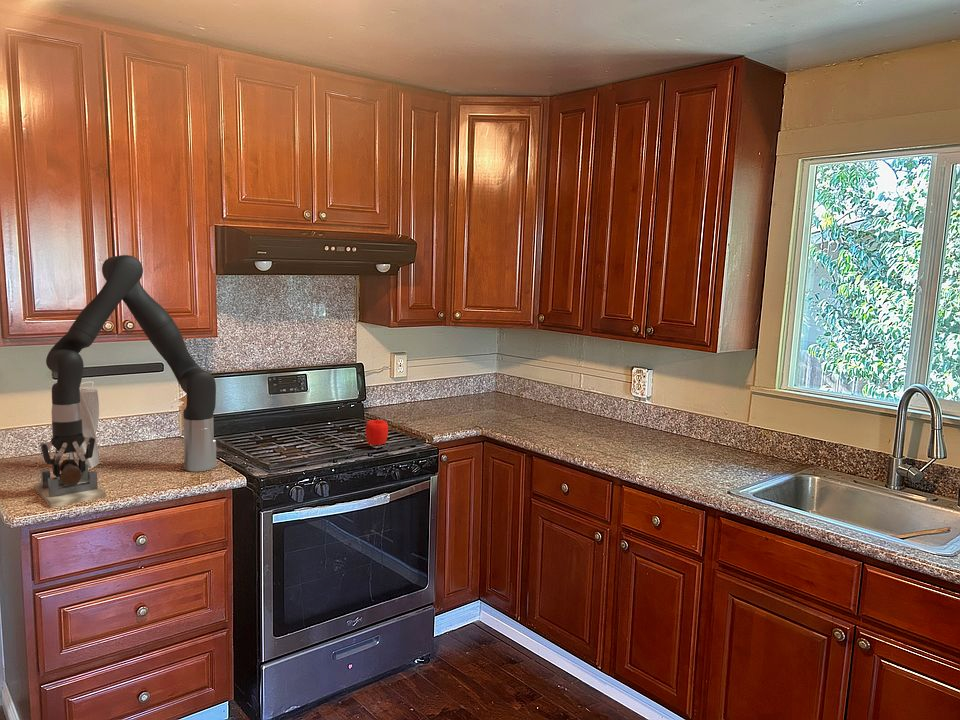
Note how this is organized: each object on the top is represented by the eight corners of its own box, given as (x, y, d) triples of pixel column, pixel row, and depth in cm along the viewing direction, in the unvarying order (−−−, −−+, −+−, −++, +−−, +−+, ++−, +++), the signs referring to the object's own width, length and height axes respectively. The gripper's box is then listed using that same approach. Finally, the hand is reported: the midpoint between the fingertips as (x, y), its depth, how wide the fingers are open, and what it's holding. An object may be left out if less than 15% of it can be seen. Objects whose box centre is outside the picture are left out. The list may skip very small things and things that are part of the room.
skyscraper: (81, 463, 235) (78, 380, 231) (106, 463, 235) (103, 381, 231) (67, 470, 226) (64, 385, 222) (93, 471, 227) (90, 386, 223)
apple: (369, 443, 273) (370, 416, 272) (391, 446, 272) (391, 418, 270) (361, 449, 265) (362, 421, 263) (383, 451, 263) (384, 423, 262)
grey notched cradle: (87, 479, 213) (86, 463, 212) (97, 489, 205) (97, 472, 204) (41, 486, 205) (40, 470, 204) (50, 497, 197) (49, 480, 196)
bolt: (71, 475, 211) (74, 488, 199) (53, 469, 208) (56, 482, 196) (81, 458, 212) (85, 470, 200) (64, 451, 209) (67, 463, 197)
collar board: (86, 479, 217) (86, 475, 217) (106, 497, 203) (106, 492, 203) (34, 488, 208) (33, 483, 207) (50, 507, 193) (50, 502, 193)
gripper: (90, 412, 210) (92, 467, 212) (35, 418, 200) (37, 476, 202) (98, 417, 204) (100, 473, 207) (41, 423, 194) (44, 482, 197)
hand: (69, 474), depth 204 cm, fingers closed on bolt, 5 cm apart
